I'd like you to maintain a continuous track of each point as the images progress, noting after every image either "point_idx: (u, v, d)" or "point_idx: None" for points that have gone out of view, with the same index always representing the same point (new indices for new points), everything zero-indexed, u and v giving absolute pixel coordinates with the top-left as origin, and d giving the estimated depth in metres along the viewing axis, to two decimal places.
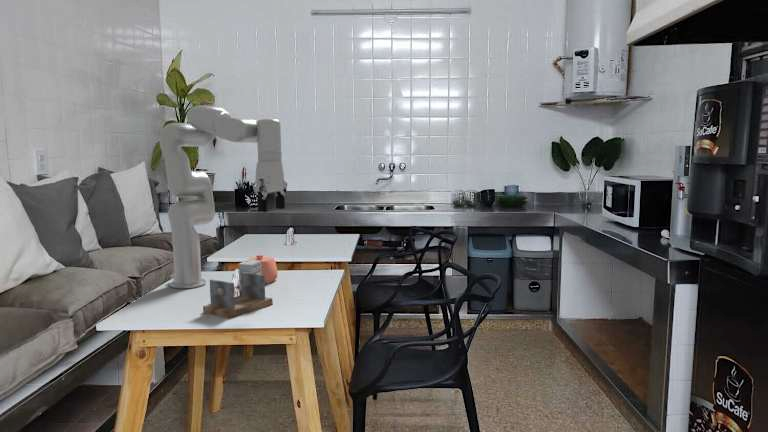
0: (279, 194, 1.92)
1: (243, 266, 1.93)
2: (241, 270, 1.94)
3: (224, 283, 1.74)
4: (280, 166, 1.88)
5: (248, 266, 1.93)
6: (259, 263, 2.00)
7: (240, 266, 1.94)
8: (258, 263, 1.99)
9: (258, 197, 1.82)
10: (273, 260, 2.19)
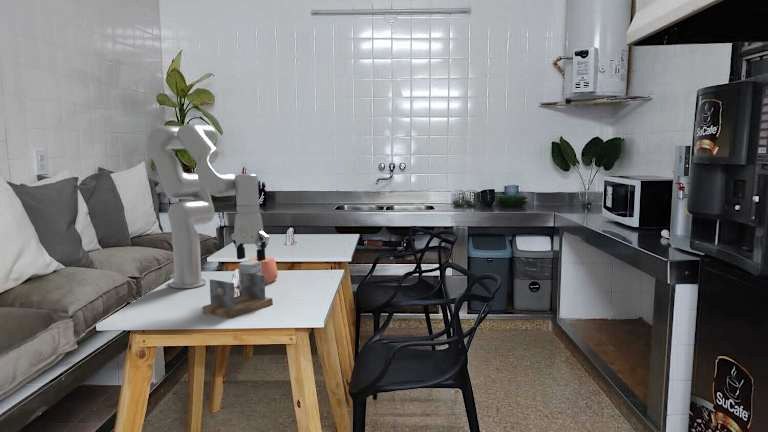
0: (239, 245, 1.99)
1: (243, 266, 1.93)
2: (241, 270, 1.94)
3: (224, 283, 1.74)
4: None
5: (248, 266, 1.93)
6: (259, 263, 2.00)
7: (240, 266, 1.94)
8: (258, 263, 1.99)
9: (263, 247, 1.93)
10: (273, 260, 2.19)
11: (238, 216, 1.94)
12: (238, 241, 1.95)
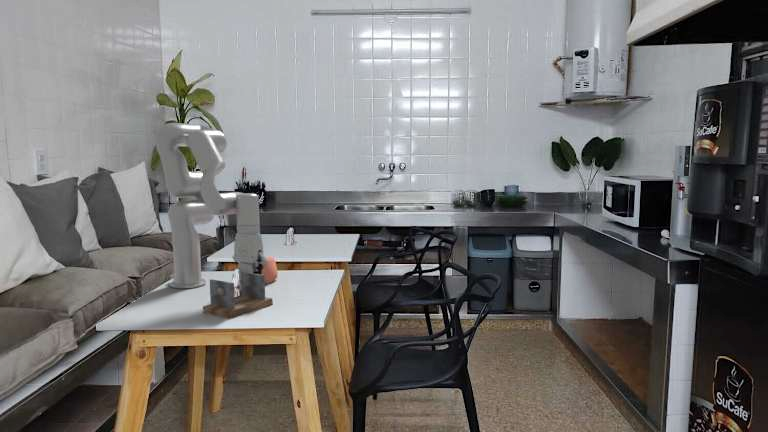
0: None
1: (243, 266, 1.93)
2: (241, 270, 1.94)
3: (224, 283, 1.74)
4: None
5: (248, 266, 1.93)
6: None
7: (240, 266, 1.94)
8: None
9: (260, 269, 1.95)
10: (273, 260, 2.19)
11: (238, 235, 1.95)
12: (238, 260, 1.96)
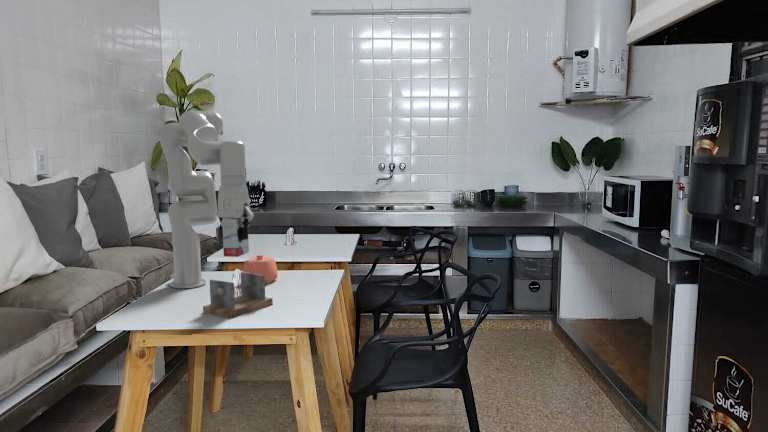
0: None
1: (227, 221, 1.75)
2: (225, 225, 1.75)
3: (224, 283, 1.74)
4: None
5: (233, 221, 1.75)
6: None
7: (224, 221, 1.75)
8: None
9: (246, 225, 1.76)
10: (273, 260, 2.19)
11: (222, 188, 1.77)
12: (222, 215, 1.78)
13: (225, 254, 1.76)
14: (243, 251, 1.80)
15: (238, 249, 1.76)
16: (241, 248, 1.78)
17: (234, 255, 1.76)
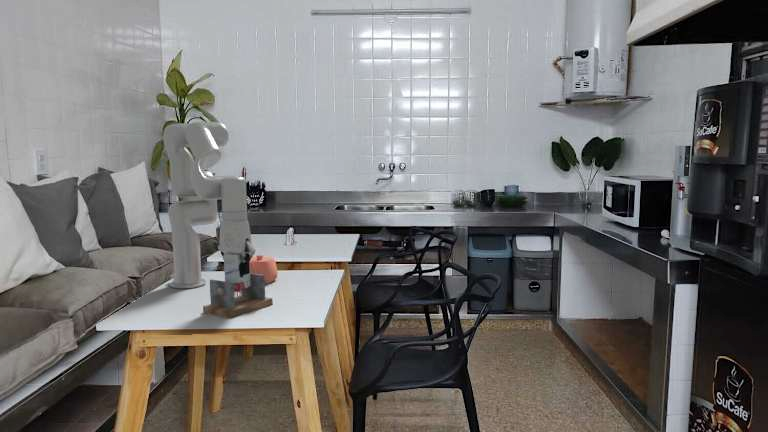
0: None
1: (229, 256, 1.76)
2: (227, 261, 1.77)
3: (224, 283, 1.74)
4: None
5: (234, 256, 1.76)
6: None
7: (225, 256, 1.76)
8: None
9: (247, 260, 1.77)
10: (273, 260, 2.19)
11: (224, 223, 1.78)
12: (223, 250, 1.79)
13: None
14: (245, 285, 1.81)
15: (240, 284, 1.77)
16: (243, 283, 1.79)
17: (236, 290, 1.77)
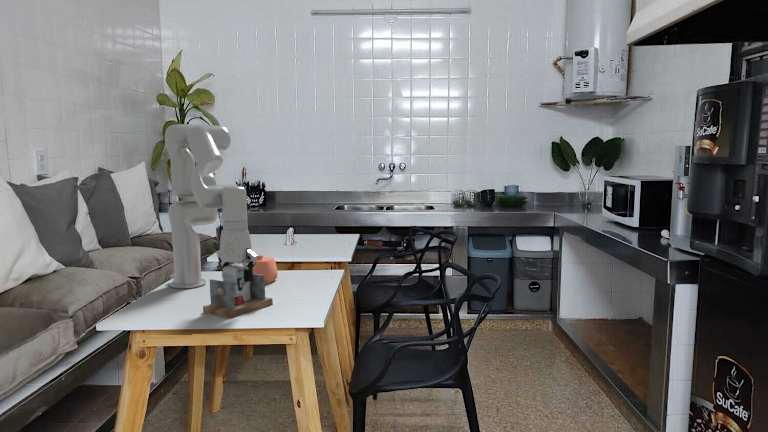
0: (225, 263, 1.83)
1: (227, 270, 1.77)
2: (225, 274, 1.78)
3: (224, 283, 1.74)
4: None
5: (232, 270, 1.77)
6: None
7: (224, 270, 1.77)
8: None
9: (251, 267, 1.77)
10: (273, 260, 2.19)
11: (224, 232, 1.78)
12: (224, 259, 1.79)
13: None
14: (244, 298, 1.82)
15: (238, 298, 1.78)
16: (241, 297, 1.80)
17: None
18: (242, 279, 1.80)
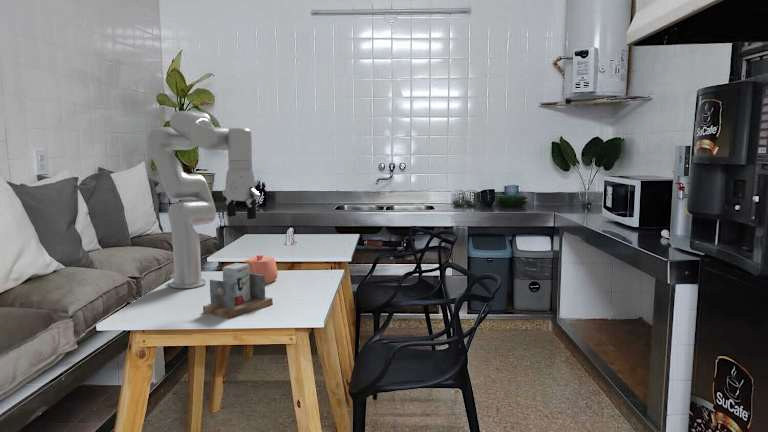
0: (230, 202, 1.93)
1: (227, 270, 1.77)
2: (225, 274, 1.78)
3: (224, 283, 1.74)
4: None
5: (232, 270, 1.77)
6: (247, 267, 1.83)
7: (224, 270, 1.77)
8: (245, 267, 1.82)
9: (254, 205, 1.86)
10: (273, 260, 2.19)
11: (230, 172, 1.88)
12: (229, 197, 1.89)
13: None
14: (244, 298, 1.82)
15: (238, 298, 1.78)
16: (241, 297, 1.80)
17: None
18: (242, 279, 1.80)
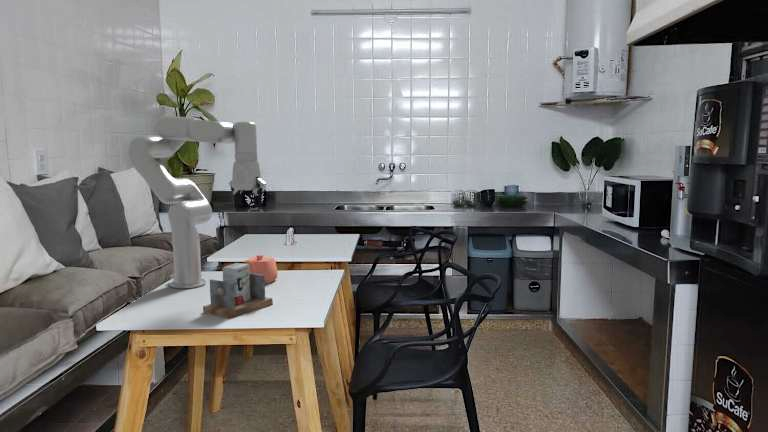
0: (237, 192, 2.04)
1: (227, 270, 1.77)
2: (225, 274, 1.78)
3: (224, 283, 1.74)
4: None
5: (232, 270, 1.77)
6: (247, 267, 1.83)
7: (224, 270, 1.77)
8: (245, 267, 1.82)
9: (260, 193, 1.98)
10: (273, 260, 2.19)
11: (236, 163, 1.99)
12: (236, 188, 2.00)
13: None
14: (244, 298, 1.82)
15: (238, 298, 1.78)
16: (241, 297, 1.80)
17: None
18: (242, 279, 1.80)
